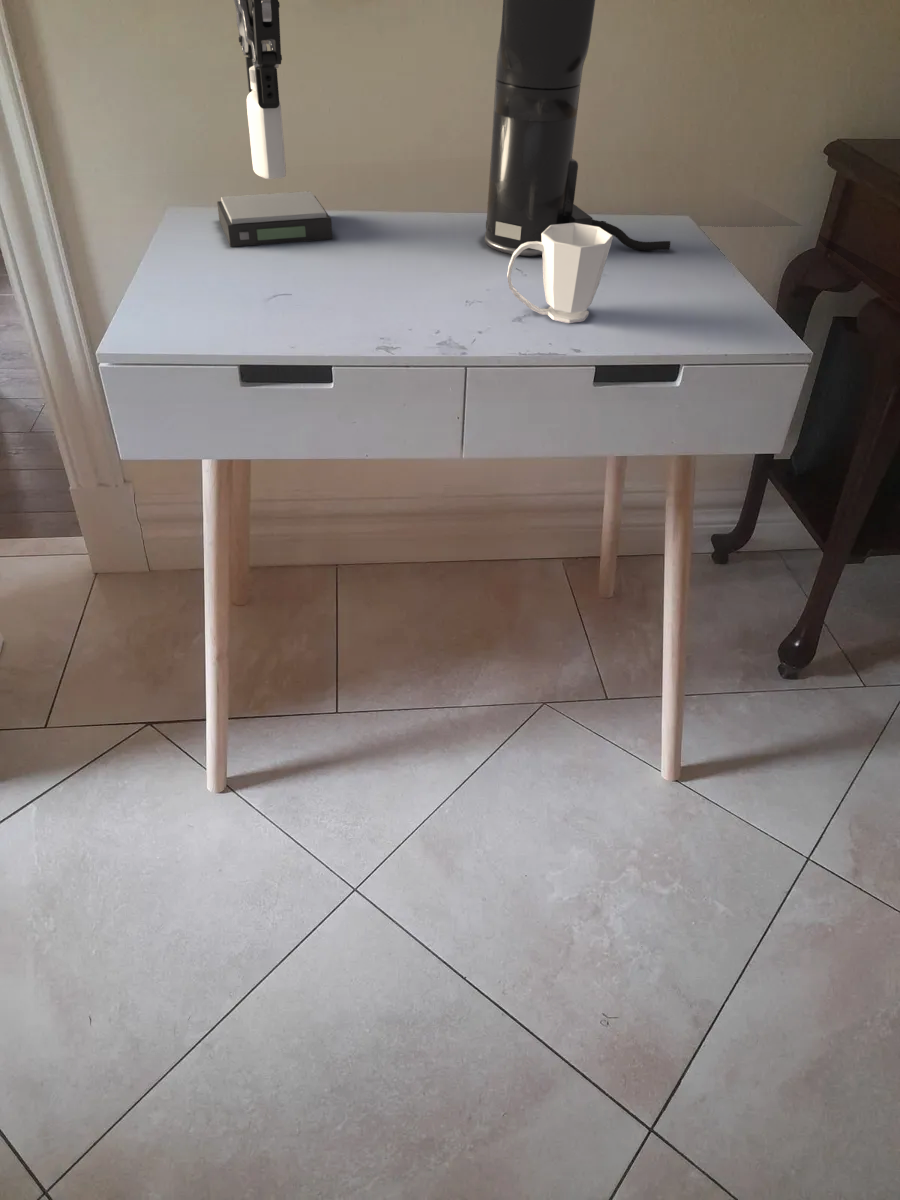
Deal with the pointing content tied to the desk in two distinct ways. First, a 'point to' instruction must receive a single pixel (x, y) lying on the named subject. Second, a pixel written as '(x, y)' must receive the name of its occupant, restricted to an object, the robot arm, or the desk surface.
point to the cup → (568, 269)
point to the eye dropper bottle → (265, 136)
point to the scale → (273, 218)
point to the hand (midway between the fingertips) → (264, 100)
